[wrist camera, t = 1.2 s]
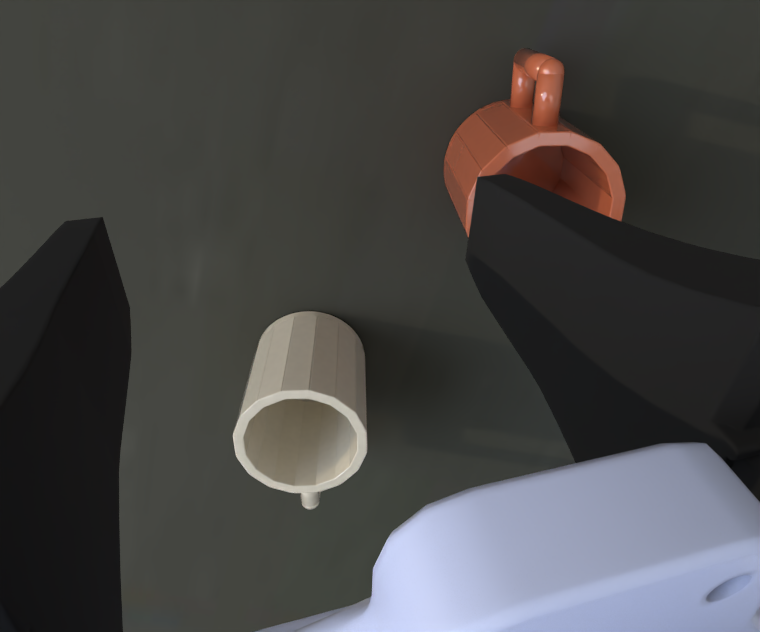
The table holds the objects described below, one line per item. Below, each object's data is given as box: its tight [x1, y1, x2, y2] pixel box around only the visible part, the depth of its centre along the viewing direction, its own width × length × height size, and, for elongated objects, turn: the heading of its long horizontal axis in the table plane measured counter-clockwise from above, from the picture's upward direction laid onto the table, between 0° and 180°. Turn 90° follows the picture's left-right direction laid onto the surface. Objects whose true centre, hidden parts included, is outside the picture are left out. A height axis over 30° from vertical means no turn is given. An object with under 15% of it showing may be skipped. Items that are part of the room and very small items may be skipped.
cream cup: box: [233, 311, 367, 509], centre depth 30 cm, size 8×6×7 cm
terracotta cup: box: [444, 48, 626, 238], centre depth 24 cm, size 8×6×6 cm
